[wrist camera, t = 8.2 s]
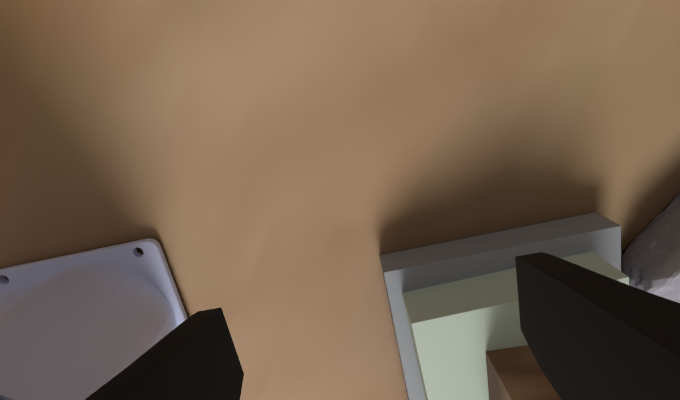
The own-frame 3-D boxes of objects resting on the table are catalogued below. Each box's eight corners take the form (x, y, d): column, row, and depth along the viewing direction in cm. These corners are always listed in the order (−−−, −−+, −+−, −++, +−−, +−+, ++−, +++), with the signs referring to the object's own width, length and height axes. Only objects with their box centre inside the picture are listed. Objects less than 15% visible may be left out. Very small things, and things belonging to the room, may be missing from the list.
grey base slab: (410, 411, 25) (418, 448, 22) (378, 250, 21) (383, 272, 19) (592, 379, 24) (620, 412, 22) (588, 208, 21) (621, 225, 18)
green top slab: (433, 434, 22) (445, 478, 20) (401, 292, 19) (411, 323, 17) (600, 401, 22) (633, 442, 19) (591, 251, 19) (629, 277, 16)
